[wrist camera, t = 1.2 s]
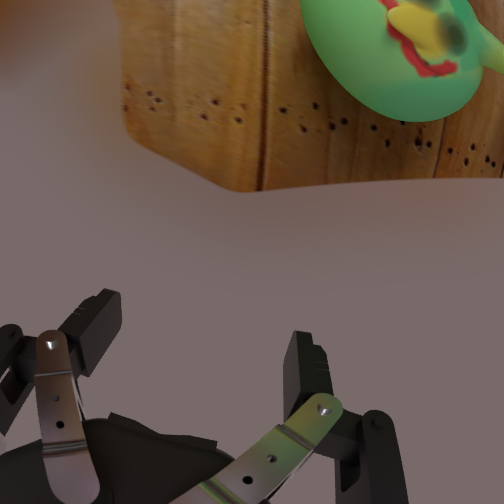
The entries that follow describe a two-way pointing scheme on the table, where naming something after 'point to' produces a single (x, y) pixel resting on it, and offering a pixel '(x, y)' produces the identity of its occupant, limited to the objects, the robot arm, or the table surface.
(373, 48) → the green horned toy
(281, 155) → the table surface
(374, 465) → the robot arm
